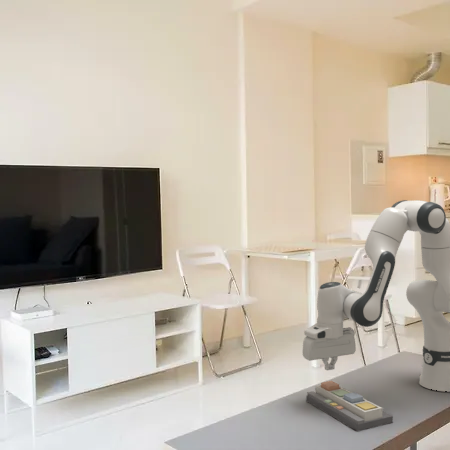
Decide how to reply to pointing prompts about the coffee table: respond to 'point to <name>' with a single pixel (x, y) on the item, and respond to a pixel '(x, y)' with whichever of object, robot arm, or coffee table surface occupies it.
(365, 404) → the key ochre
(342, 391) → the key sage
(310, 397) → the coloured button panel
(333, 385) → the key terracotta
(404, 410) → the coffee table surface
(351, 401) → the key slate
